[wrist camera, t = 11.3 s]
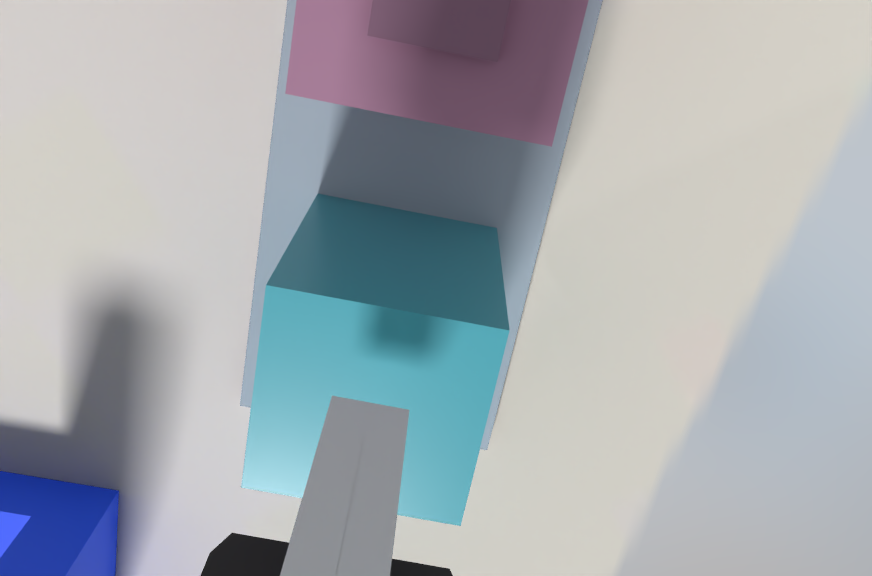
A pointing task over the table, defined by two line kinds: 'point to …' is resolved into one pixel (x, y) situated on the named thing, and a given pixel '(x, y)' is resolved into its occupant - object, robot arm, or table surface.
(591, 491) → the table surface
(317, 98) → the marker stand
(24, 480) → the bracket
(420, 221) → the teal block
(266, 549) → the robot arm
